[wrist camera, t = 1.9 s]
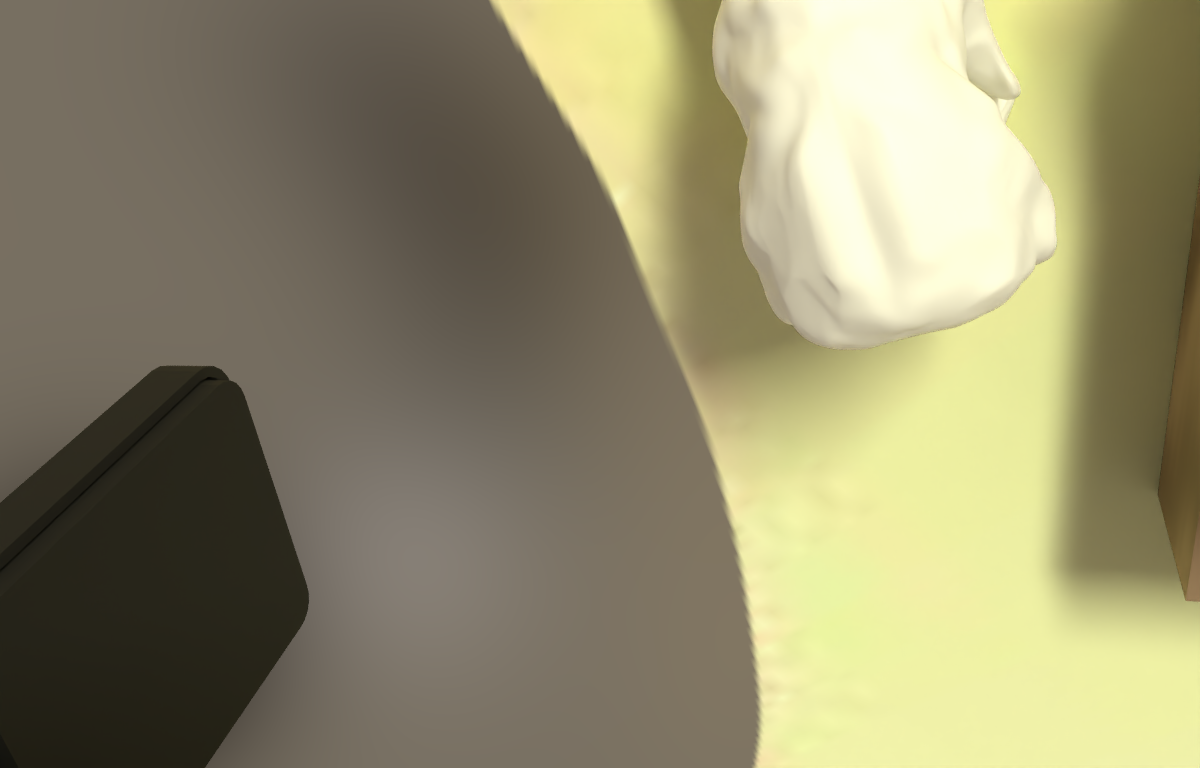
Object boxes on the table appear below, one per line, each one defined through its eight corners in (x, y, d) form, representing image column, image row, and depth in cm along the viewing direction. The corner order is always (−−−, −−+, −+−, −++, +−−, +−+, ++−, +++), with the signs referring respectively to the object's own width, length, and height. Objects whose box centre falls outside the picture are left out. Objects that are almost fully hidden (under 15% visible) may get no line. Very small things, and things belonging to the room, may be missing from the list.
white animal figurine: (763, 415, 24) (532, -182, 20) (815, 275, 31) (654, -180, 27) (1086, 337, 21) (889, -365, 17) (1059, 204, 28) (917, -309, 25)
